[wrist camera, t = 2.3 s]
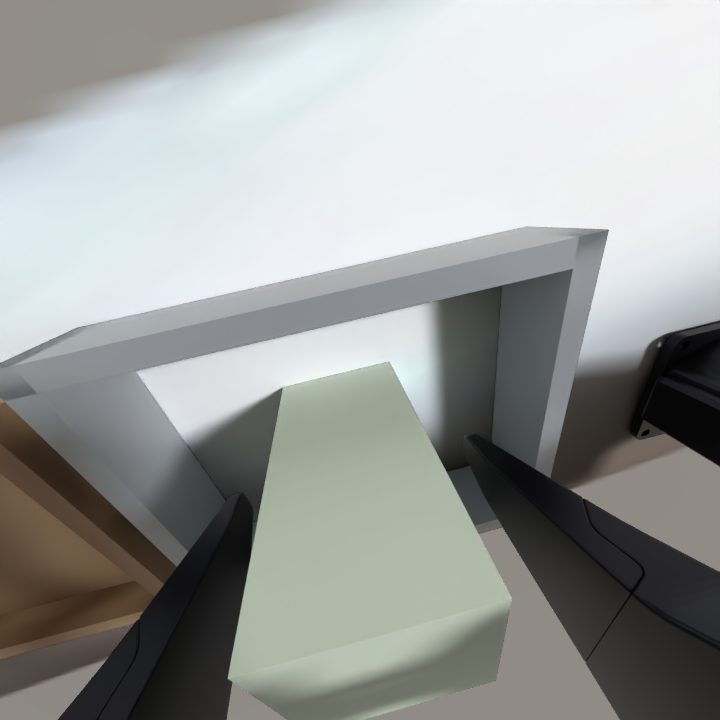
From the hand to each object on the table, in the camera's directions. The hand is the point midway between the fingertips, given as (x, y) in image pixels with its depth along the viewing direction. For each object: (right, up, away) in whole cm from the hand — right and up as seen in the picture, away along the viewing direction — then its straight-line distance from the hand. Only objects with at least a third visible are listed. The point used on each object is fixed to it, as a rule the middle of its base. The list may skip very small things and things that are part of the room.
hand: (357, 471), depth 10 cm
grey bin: (-1, +1, +3) cm, 3 cm away
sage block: (-1, +1, +3) cm, 3 cm away
